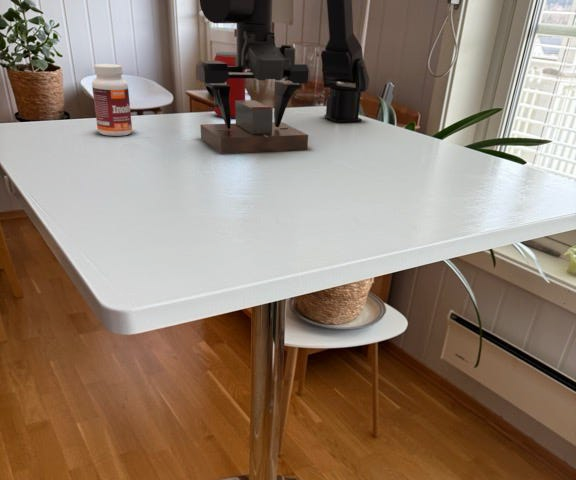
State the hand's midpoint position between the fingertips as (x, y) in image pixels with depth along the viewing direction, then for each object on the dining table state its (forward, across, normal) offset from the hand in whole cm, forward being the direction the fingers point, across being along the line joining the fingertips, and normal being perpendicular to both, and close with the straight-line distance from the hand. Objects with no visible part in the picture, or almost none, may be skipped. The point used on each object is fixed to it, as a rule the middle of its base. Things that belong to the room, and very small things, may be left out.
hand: (253, 127), depth 100 cm
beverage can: (+3, +5, +28) cm, 29 cm away
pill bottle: (+3, -22, +14) cm, 26 cm away
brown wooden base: (+3, 0, 0) cm, 3 cm away
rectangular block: (0, 0, 0) cm, 0 cm away
